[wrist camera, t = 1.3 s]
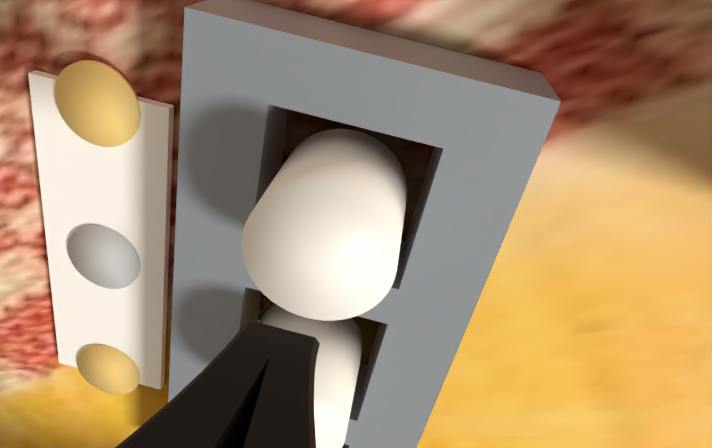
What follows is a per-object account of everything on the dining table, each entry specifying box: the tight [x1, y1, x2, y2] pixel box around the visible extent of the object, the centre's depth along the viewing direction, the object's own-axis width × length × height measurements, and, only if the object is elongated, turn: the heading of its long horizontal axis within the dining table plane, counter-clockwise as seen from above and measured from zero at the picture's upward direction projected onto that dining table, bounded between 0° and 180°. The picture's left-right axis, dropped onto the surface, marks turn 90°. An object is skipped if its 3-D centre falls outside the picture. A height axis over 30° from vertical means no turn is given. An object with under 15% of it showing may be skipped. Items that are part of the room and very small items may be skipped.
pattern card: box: [28, 60, 174, 394], centre depth 22 cm, size 16×5×1 cm, turn 168°
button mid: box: [260, 304, 363, 448], centre depth 19 cm, size 4×4×4 cm
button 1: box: [241, 129, 407, 321], centre depth 15 cm, size 4×4×4 cm
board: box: [168, 0, 561, 448], centre depth 21 cm, size 10×22×3 cm, turn 168°
